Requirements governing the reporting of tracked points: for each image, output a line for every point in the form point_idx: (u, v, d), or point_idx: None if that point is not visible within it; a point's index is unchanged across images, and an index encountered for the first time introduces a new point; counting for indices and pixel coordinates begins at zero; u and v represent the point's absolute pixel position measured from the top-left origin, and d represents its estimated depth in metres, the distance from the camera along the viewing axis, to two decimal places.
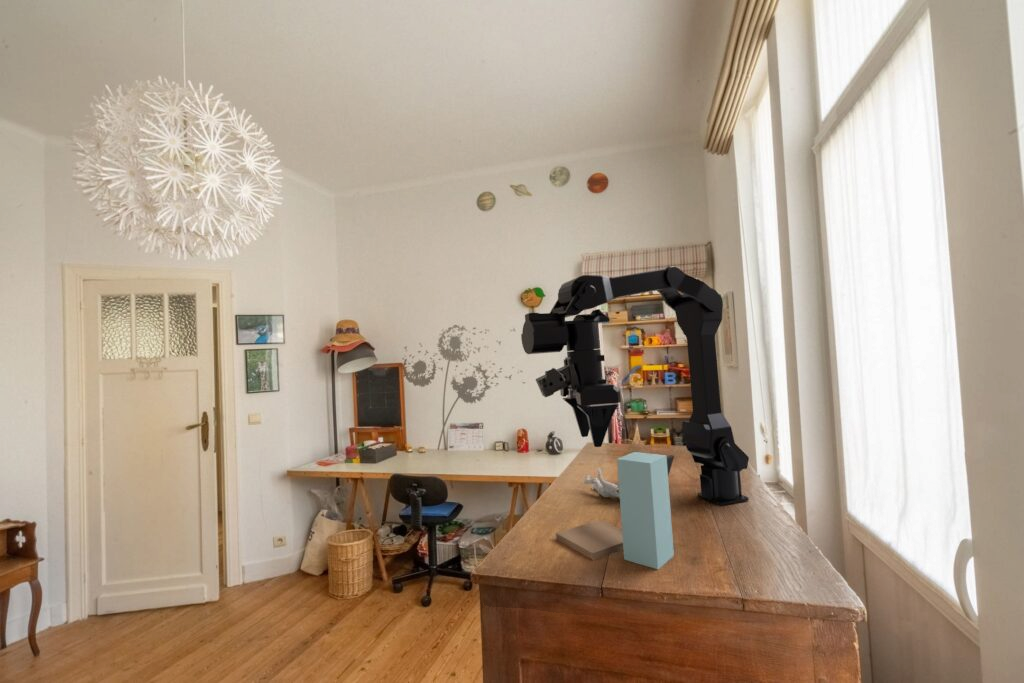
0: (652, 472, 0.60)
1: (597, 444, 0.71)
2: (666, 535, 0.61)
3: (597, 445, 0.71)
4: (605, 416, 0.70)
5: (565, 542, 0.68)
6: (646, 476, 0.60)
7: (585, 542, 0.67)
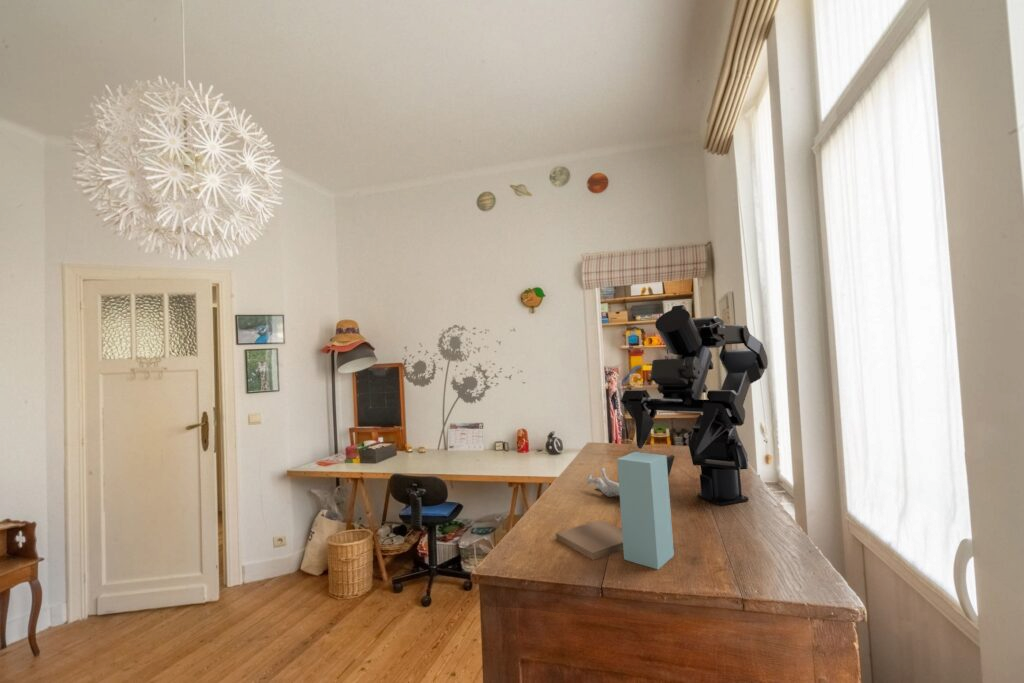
0: (652, 472, 0.60)
1: (698, 450, 0.66)
2: (666, 535, 0.61)
3: (698, 451, 0.65)
4: (716, 430, 0.68)
5: (565, 542, 0.68)
6: (646, 476, 0.60)
7: (585, 542, 0.67)
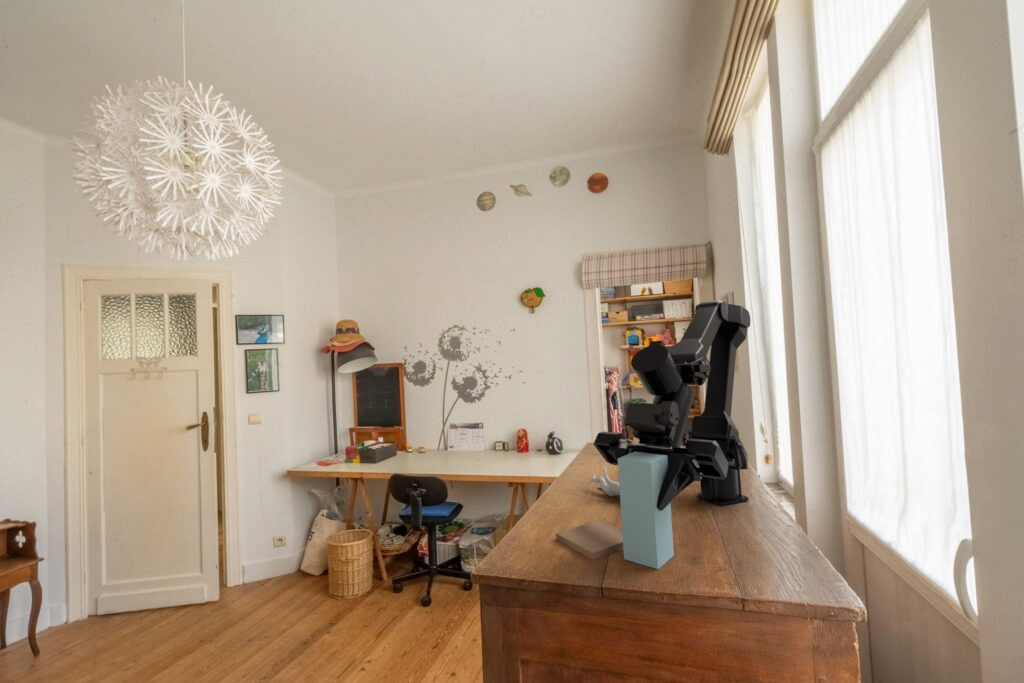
0: (652, 472, 0.59)
1: (661, 506, 0.60)
2: (666, 535, 0.61)
3: (661, 507, 0.60)
4: (682, 482, 0.62)
5: (565, 542, 0.68)
6: (646, 476, 0.60)
7: (585, 542, 0.67)
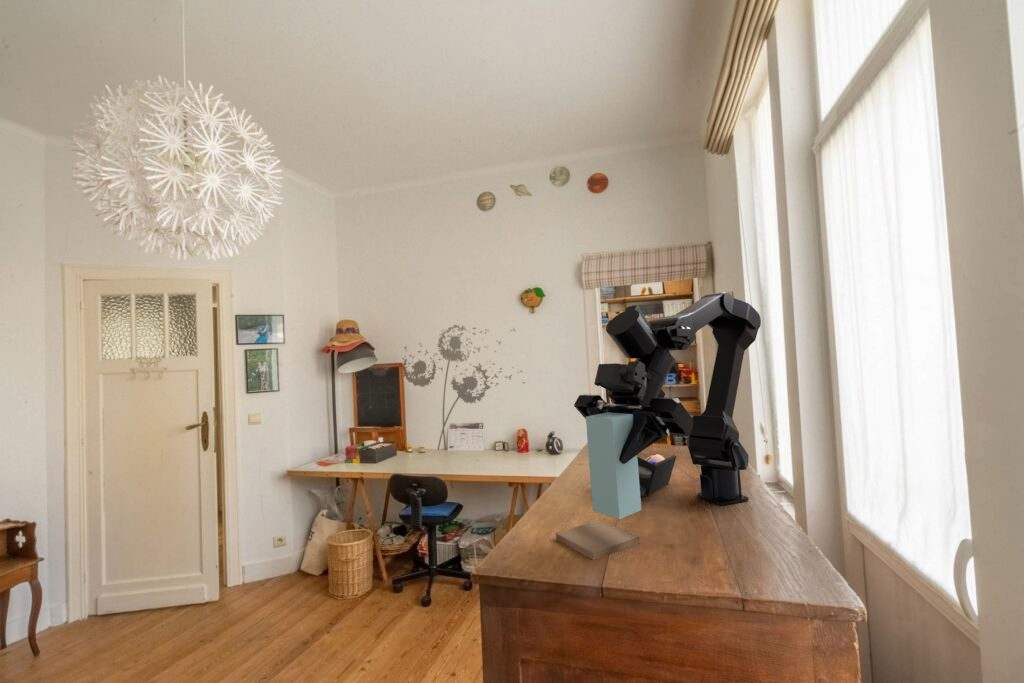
0: (614, 427, 0.63)
1: (624, 459, 0.63)
2: (631, 489, 0.64)
3: (623, 460, 0.63)
4: (647, 439, 0.65)
5: (565, 542, 0.68)
6: (609, 432, 0.63)
7: (585, 542, 0.67)
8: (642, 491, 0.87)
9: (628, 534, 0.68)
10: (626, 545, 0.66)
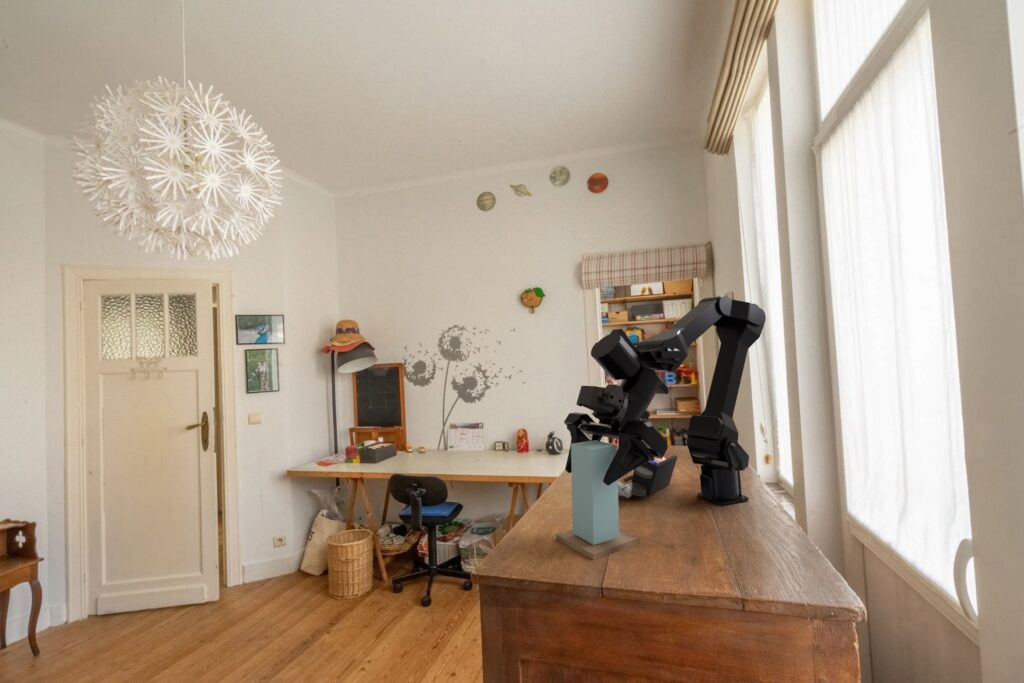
0: (593, 457, 0.66)
1: (607, 481, 0.64)
2: (608, 517, 0.67)
3: (607, 482, 0.64)
4: (633, 462, 0.66)
5: (565, 543, 0.68)
6: (588, 461, 0.66)
7: (585, 543, 0.67)
8: (643, 491, 0.86)
9: (628, 536, 0.68)
10: (626, 546, 0.66)
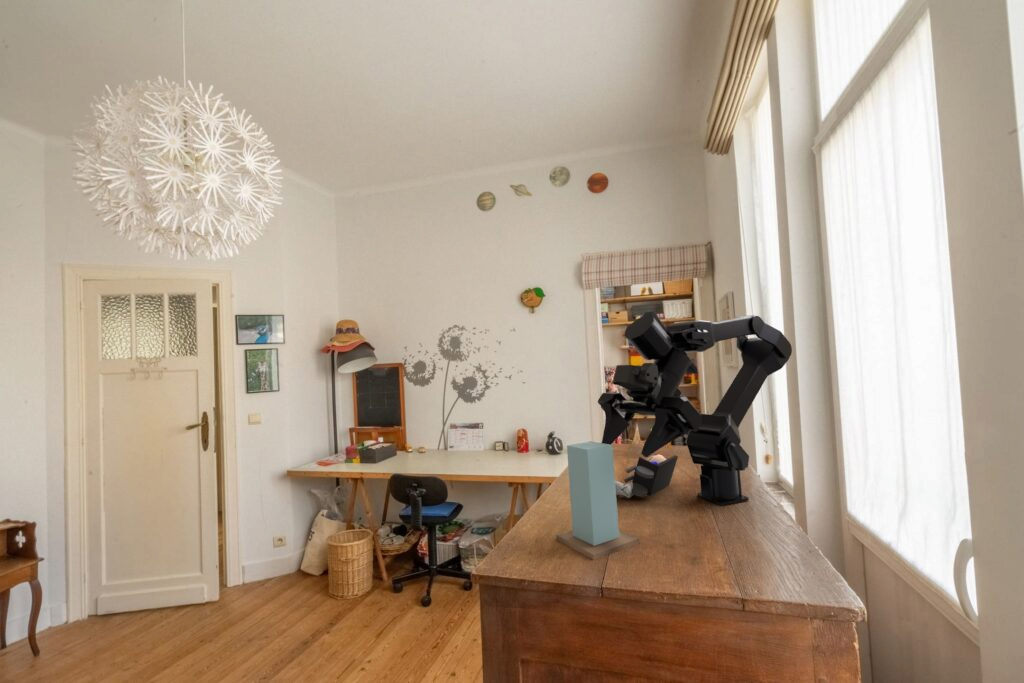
0: (589, 458, 0.66)
1: (646, 453, 0.68)
2: (607, 517, 0.67)
3: (645, 453, 0.68)
4: (669, 435, 0.70)
5: (565, 544, 0.68)
6: (585, 461, 0.67)
7: (586, 543, 0.67)
8: (644, 491, 0.86)
9: (628, 536, 0.68)
10: None
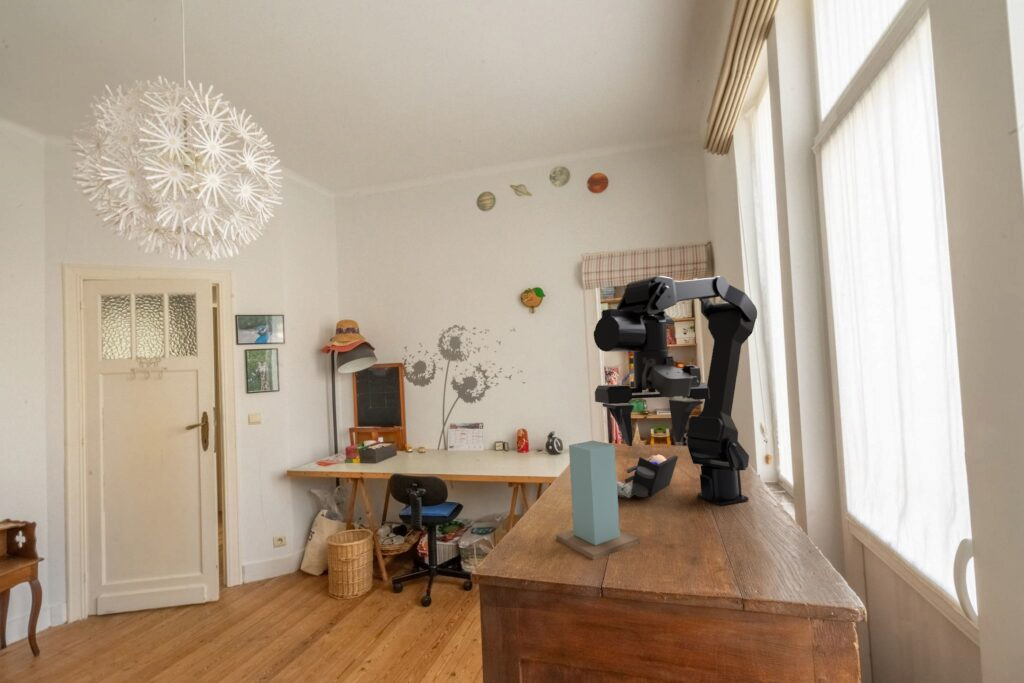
0: (592, 458, 0.66)
1: None
2: (609, 517, 0.67)
3: None
4: None
5: (565, 544, 0.68)
6: (587, 462, 0.67)
7: (585, 543, 0.67)
8: (645, 492, 0.86)
9: (628, 536, 0.68)
10: (626, 546, 0.66)
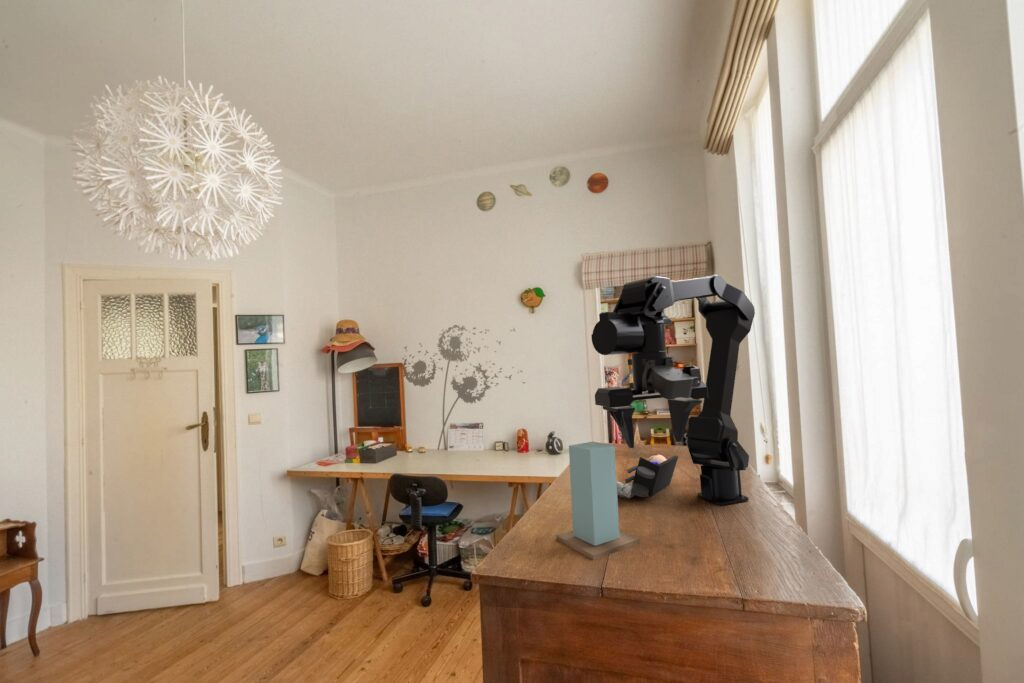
0: (592, 458, 0.66)
1: None
2: (608, 517, 0.67)
3: None
4: None
5: (565, 544, 0.68)
6: (587, 462, 0.67)
7: (586, 544, 0.67)
8: (645, 492, 0.86)
9: (628, 537, 0.68)
10: None
